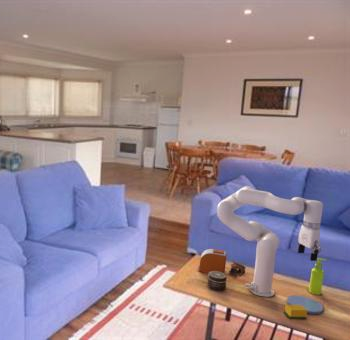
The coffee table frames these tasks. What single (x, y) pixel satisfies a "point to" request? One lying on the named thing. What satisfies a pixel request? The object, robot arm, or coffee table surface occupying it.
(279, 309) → the coffee table surface
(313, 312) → the plate
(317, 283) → the soap dispenser
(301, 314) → the sponge
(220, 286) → the jar
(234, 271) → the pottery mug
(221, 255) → the brown toaster
